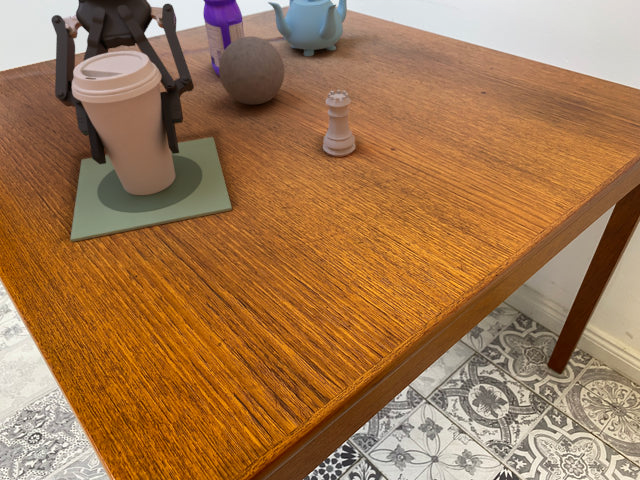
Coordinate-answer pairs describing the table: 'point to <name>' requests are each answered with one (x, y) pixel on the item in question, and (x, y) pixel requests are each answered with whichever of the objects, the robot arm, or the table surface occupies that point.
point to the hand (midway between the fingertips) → (137, 155)
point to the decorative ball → (251, 70)
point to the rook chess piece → (338, 126)
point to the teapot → (311, 24)
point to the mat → (155, 209)
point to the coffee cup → (127, 117)
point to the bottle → (222, 27)
